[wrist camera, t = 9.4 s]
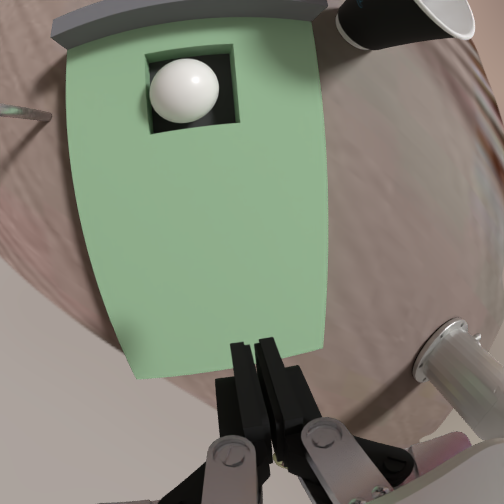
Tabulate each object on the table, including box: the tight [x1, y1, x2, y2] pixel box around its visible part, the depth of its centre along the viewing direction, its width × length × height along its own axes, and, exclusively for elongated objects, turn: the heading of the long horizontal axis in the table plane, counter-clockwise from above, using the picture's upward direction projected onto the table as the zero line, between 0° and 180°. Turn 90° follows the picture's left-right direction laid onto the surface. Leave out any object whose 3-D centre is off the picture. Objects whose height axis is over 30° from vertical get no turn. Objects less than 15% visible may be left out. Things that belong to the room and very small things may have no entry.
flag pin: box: [0, 103, 52, 122], centre depth 10 cm, size 1×4×10 cm, turn 6°
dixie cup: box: [336, 0, 475, 50], centre depth 12 cm, size 8×8×11 cm
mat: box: [50, 0, 328, 379], centre depth 18 cm, size 18×30×5 cm, turn 5°
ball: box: [149, 59, 219, 123], centre depth 15 cm, size 4×4×4 cm
